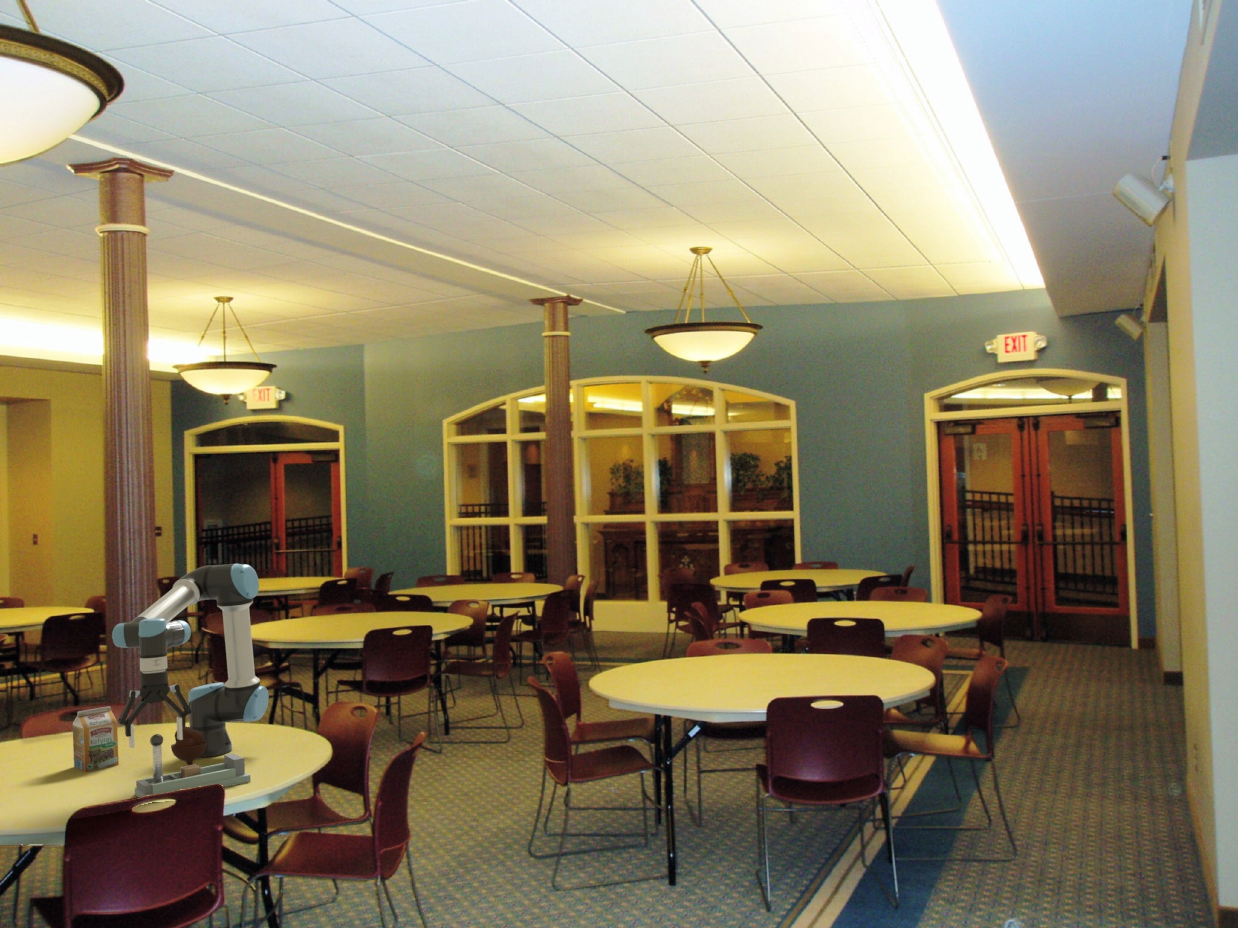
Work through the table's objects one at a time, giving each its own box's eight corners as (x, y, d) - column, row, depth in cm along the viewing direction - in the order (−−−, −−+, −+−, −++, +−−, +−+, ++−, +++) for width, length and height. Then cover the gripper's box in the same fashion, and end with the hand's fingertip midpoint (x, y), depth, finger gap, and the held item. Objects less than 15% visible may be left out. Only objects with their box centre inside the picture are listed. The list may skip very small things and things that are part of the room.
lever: (148, 786, 321) (146, 733, 322) (172, 781, 326) (170, 729, 326) (154, 791, 316) (152, 736, 316) (179, 786, 320) (177, 732, 321)
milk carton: (107, 760, 368) (105, 704, 369) (118, 764, 361) (116, 707, 361) (74, 766, 361) (71, 709, 361) (85, 771, 353) (82, 713, 354)
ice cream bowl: (186, 779, 337) (185, 731, 337) (164, 775, 342) (162, 728, 343) (215, 771, 346) (213, 724, 346) (193, 767, 351) (191, 721, 352)
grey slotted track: (134, 794, 322) (133, 770, 322) (235, 773, 341) (234, 751, 341) (147, 803, 312) (146, 778, 312) (250, 781, 330) (249, 758, 331)
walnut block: (180, 781, 326) (180, 766, 326) (195, 778, 329) (195, 763, 329) (185, 784, 322) (184, 769, 323) (200, 781, 325) (200, 766, 325)
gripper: (112, 678, 310) (114, 752, 309) (201, 666, 326) (203, 737, 325) (105, 675, 316) (107, 748, 315) (192, 664, 331) (195, 734, 331)
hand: (156, 743), depth 320 cm, fingers open, 13 cm apart
